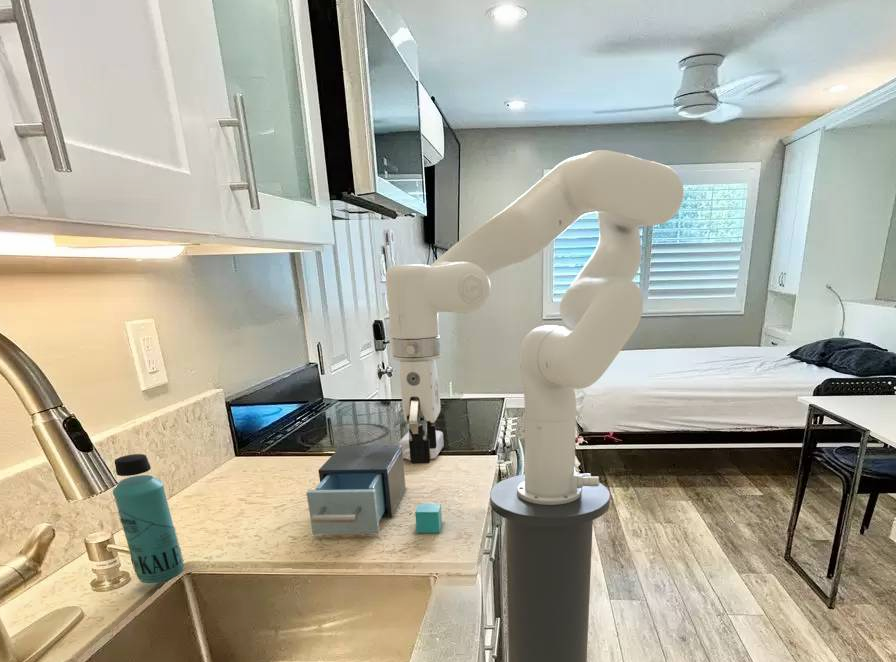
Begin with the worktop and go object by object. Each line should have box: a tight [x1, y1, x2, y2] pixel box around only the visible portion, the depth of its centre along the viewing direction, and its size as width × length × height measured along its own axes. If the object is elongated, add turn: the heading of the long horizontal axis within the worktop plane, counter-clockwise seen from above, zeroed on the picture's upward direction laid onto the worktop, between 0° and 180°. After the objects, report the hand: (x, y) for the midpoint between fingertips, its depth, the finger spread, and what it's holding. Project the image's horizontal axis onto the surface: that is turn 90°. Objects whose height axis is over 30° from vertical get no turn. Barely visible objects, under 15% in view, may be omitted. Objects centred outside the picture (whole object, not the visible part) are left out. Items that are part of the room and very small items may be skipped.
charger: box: [397, 430, 445, 461], centre depth 138 cm, size 5×9×15 cm
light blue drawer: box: [306, 473, 387, 535], centre depth 101 cm, size 18×11×8 cm, turn 178°
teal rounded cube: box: [414, 502, 443, 534], centre depth 101 cm, size 4×4×4 cm
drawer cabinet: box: [317, 444, 407, 519], centre depth 111 cm, size 15×13×10 cm
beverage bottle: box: [112, 453, 185, 584], centre depth 83 cm, size 6×7×20 cm
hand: (424, 454), depth 97 cm, fingers open, 7 cm apart
